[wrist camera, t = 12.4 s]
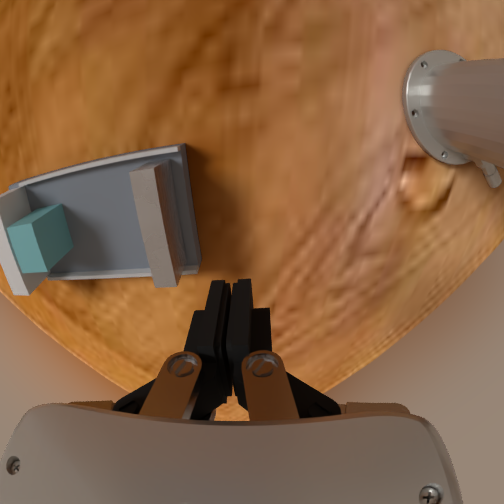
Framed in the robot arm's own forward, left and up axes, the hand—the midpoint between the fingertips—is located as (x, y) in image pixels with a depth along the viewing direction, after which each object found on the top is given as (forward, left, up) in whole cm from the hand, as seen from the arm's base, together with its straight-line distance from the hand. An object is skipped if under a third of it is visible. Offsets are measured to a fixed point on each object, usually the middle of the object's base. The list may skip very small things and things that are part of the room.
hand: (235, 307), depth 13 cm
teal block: (+15, +15, -15) cm, 26 cm away
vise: (+11, +11, -17) cm, 23 cm away
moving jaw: (+5, +5, -15) cm, 16 cm away
